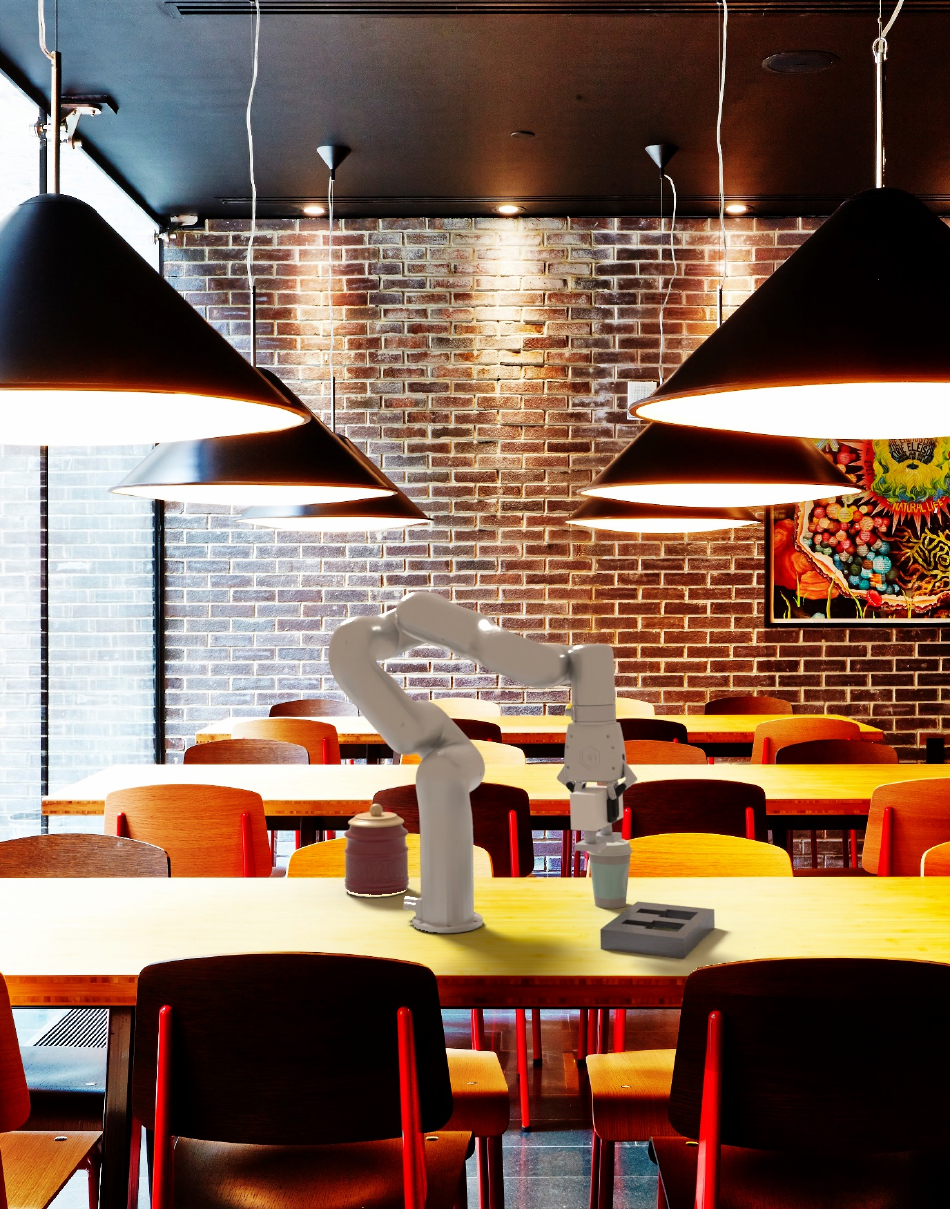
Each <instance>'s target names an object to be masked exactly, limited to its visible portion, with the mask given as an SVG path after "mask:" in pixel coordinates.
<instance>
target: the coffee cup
mask: <svg viewBox="0 0 950 1209" xmlns="http://www.w3.org/2000/svg"><path fill="white" fill-rule="evenodd" d="M586 852H587V854H588V857H589V866H590V874H591V882H592V891H593V899H594V905H595V906H596V907H598V908H601V909H621V908H624V907H626V903H627V896H628V886H629V885H628V884H629V875H630V874H629V872H630V864H631V863H630V862H631V854H632V853H633V850H632V847H631V844H630V841H629V840H626V839H624V838H622V839H620V840H618V841H616V842H615V843H607V847H606V848H604V849H602V850H601V851H599V852H594V851H586Z"/></svg>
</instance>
